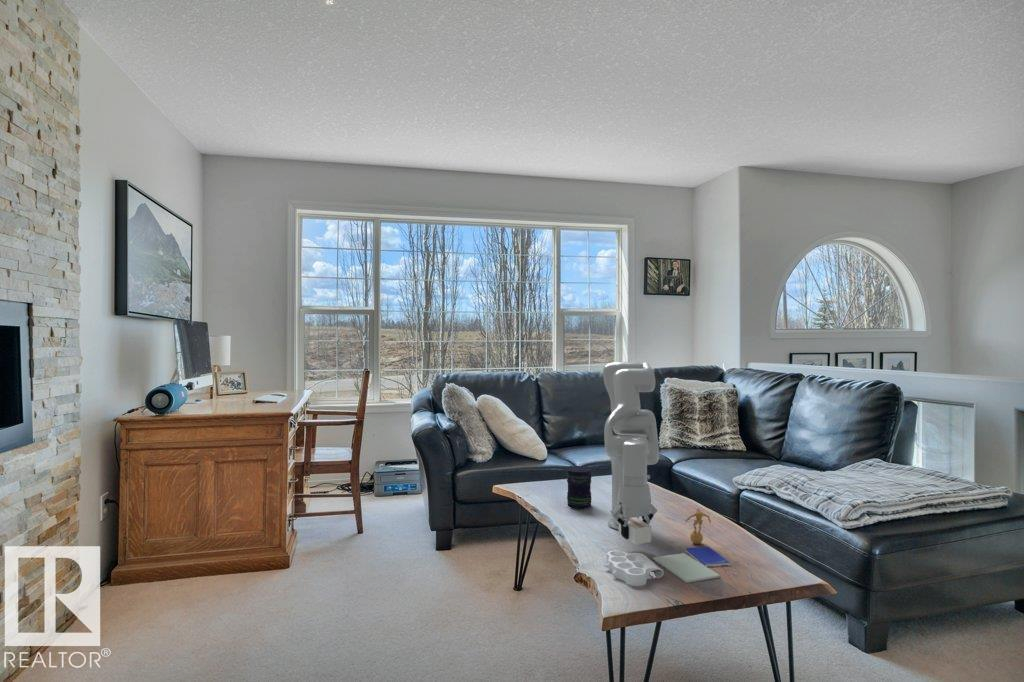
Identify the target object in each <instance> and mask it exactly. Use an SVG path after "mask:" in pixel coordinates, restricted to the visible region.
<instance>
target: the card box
mask: <svg viewBox="0 0 1024 682" xmlns="http://www.w3.org/2000/svg"><path fill="white" fill-rule="evenodd" d="M627 526H628V527H629V539H626V540H627V541H628V542H630V543H631V544H633V545H634V546H637V545H641V544H649V543H652V525H650V523H649V524H647V523H645V522H643V520H642V519H640V518H639V519H638V518H636V517H633V518H629V521H628V524H627ZM618 535H619V536H620V537H622V538H624V537H623V536H622V535H621V524H620V523H619V530H618Z"/></svg>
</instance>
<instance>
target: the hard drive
mask: <svg viewBox="0 0 1024 682" xmlns="http://www.w3.org/2000/svg"><path fill="white" fill-rule="evenodd" d="M685 552H686V553H687V552H688V553H689V554H688V555H690V557H691V558H693V559H694V558H695V559H694V560H696V561H698V562H699V563H701V564H703V565H704V566H706V567H707V568H709V567H708V566H713V567H722V566H721V565H728V566H731V562H730V561H729V560H728V559H726V558H725V557H724V556H722V555H721V554H719V553H718V552H717V551H715V550H714V549H713V548H711V547H710V546H696V547H686V548H685Z"/></svg>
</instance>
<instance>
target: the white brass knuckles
mask: <svg viewBox="0 0 1024 682" xmlns="http://www.w3.org/2000/svg"><path fill="white" fill-rule="evenodd" d="M603 566H604V567H605V568H606V569H608V568H609V569H608V572H609V571H610V572H609V573H611V572H612V573H611V575H613V577H614V576H615V577H614V578H616V579H617V578H618V580H620V581H623V582H625V584H626V585H628V586H633V587H641V586H644V585H645V586H646V584H647V581H648V580H652V579H651V578H653V580H655V578H657V579H660V578H662V577H663V576H665V575H664V574H665V572H664V570H663V568H661V567H659V566H658V565H657V564H656V562H654V561H652V560H651V559H649V558H648V557H647V555H645V554H643V553H642V552H641V553H640V552H633V553H632V552H631V553H629V552H626V551H623V550H610V551H608V552H607V553H606V563H605V564H603ZM650 572H654V574H655V576H656V577H655V578H654V577H653V576H651V575H650ZM647 579H648V580H647Z"/></svg>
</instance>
